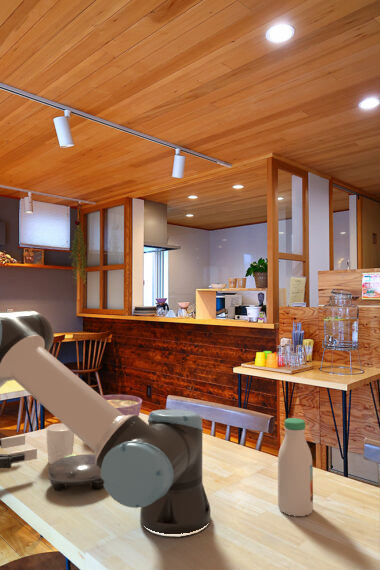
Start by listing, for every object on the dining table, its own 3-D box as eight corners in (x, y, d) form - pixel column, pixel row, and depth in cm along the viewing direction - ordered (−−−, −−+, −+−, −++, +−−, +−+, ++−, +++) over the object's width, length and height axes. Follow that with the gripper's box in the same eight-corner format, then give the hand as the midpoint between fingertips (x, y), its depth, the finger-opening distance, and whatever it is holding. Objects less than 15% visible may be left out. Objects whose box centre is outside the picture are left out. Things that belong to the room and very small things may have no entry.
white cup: (66, 467, 123) (66, 431, 124) (40, 465, 125) (41, 430, 125) (78, 457, 131) (79, 423, 131) (54, 455, 133) (54, 422, 133)
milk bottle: (307, 521, 94) (306, 427, 94) (272, 512, 98) (272, 421, 98) (317, 506, 100) (316, 418, 101) (284, 498, 104) (284, 413, 105)
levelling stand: (122, 487, 111) (122, 469, 111) (58, 503, 102) (59, 483, 102) (97, 464, 125) (97, 449, 125) (39, 477, 116) (39, 460, 117)
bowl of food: (113, 422, 167) (113, 392, 167) (153, 432, 155) (153, 399, 156) (71, 436, 151) (71, 402, 151) (112, 448, 139) (112, 411, 139)
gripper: (-60, 461, 123) (20, 446, 134) (-52, 494, 102) (42, 474, 113) (-59, 434, 123) (20, 422, 134) (-51, 462, 102) (42, 445, 113)
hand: (30, 446), depth 124 cm, fingers open, 13 cm apart
